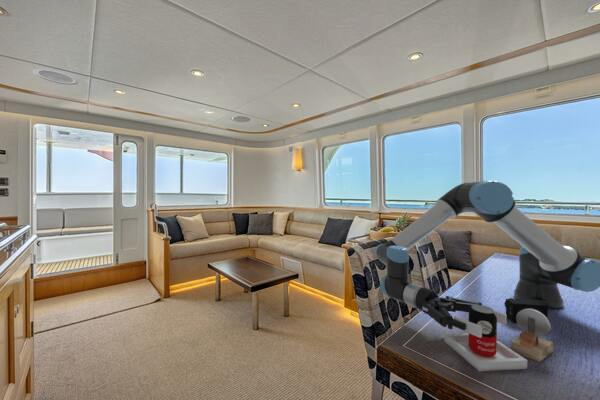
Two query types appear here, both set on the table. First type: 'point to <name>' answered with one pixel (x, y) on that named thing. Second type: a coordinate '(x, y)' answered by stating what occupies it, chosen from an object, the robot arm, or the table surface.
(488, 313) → the beverage can
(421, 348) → the table surface
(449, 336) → the tray
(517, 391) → the table surface
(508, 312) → the digital camera
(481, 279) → the table surface
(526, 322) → the pulley stand
